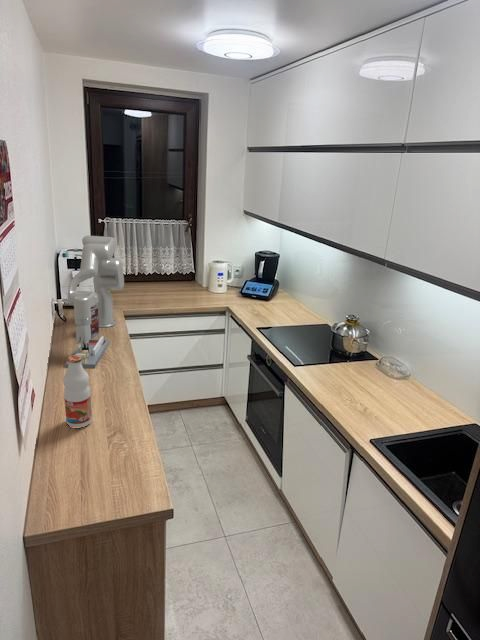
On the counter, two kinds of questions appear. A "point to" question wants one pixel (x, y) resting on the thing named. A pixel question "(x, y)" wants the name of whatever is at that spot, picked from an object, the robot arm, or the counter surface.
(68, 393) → the fruit juice
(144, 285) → the counter surface
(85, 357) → the maple block
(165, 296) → the counter surface
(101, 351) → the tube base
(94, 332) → the supplement box
